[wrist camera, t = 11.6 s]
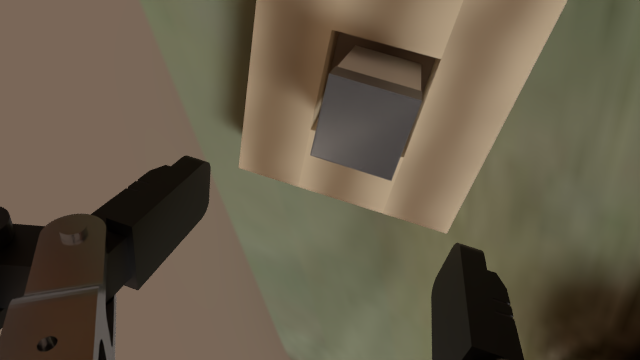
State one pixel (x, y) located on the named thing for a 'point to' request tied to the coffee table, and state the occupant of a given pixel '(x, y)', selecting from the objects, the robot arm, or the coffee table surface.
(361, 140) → the connector plug
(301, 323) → the coffee table surface
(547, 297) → the coffee table surface
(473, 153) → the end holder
